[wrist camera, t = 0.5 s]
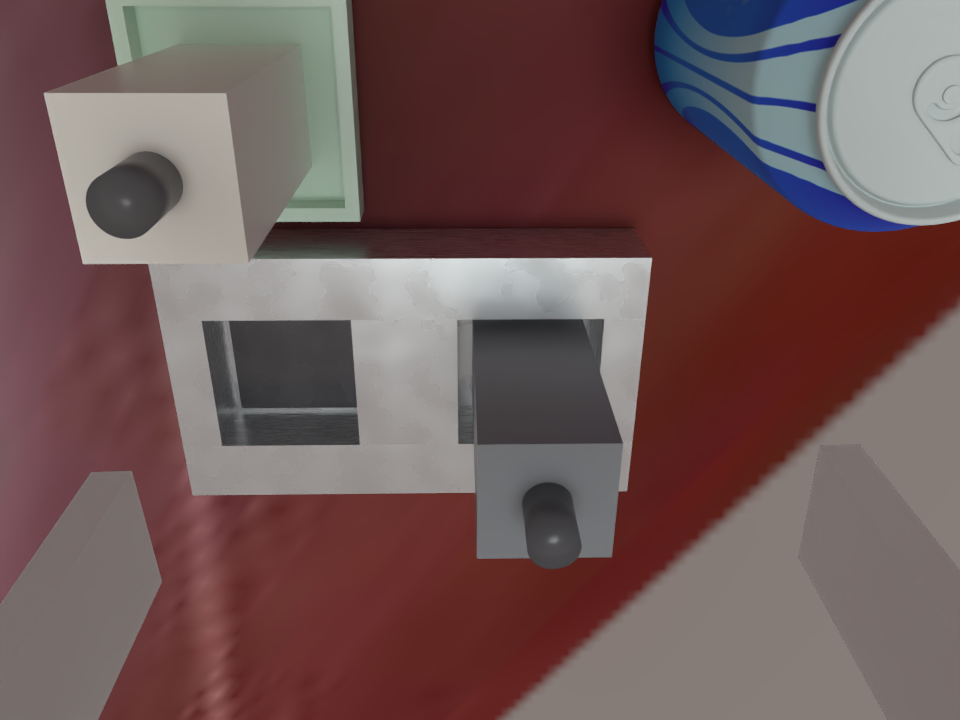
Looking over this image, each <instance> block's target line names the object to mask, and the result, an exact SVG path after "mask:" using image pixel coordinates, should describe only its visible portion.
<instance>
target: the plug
mask: <svg viewBox="0 0 960 720" xmlns="http://www.w3.org/2000/svg"><path fill="white" fill-rule="evenodd" d="M44 97H45V101H46V105H47V110H48V114H49V118H50V123H51V127H52V131H53V136H54V140H55V144H56V149H57V153H58V158H59V162H60V166H61V171H62V175H63V179H64V184H65V188H66V192H67V197H68V201H69V205H70V210H71V214H72V218H73V223H74V227H75V231H76V236H77V240H78V244H79V249H80V253H81V257H82V262H83V264H249V262H250V261H251V259H252V258H253V256H254V255H255V253H256V252H257V250H258V249H259V247H260V246H261V244H262V242H263V241H264V239H265V238H266V236H267V235H268V233H269V232H270V230H271V229H272V227H273V226H274V224H275V223H276V221H277V219H278V218H279V216H280V215H281V213H282V212H283V210H284V209H285V207H286V206H287V204H288V203H289V201H290V200H291V198H292V197H293V195H294V193H295V192H296V190H297V189H298V187H299V186H300V184H301V183H302V181H303V180H304V178H305V177H306V175H307V174H308V172H309V171H310V169H311V167H312V162H311V151H310V140H309V129H308V118H307V106H306V95H305V84H304V73H303V62H302V50H301V45H269V44H177V45H174V46H171V47H168V48H166V49H163V50H160V51H157V52H155V53H152V54H149V55H146V56H144V57H141V58H138V59H135V60H133V61H130V62H127V63H124V64H122V65H119V66H116V67H113V68H111V69H108V70H105V71H102V72H100V73H97V74H94V75H91V76H89V77H86V78H83V79H80V80H78V81H75V82H72V83H69V84H67V85H64V86H61V87H58V88H56V89H53V90H50V91H47V92H45V93H44Z"/></svg>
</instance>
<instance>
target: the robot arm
mask: <svg viewBox="0 0 960 720" xmlns="http://www.w3.org/2000/svg"><path fill="white" fill-rule="evenodd" d="M798 558H799V560H800V561H801V563H802V565H803V567H804V569H805V571H806V573H807V574H808V576H809V578H810V580H811V582H812V583H813V585H814V587H815V589H816V591H817V593H818V594H819V596H820V598H821V600H822V602H823V603H824V605H825V607H826V609H827V611H828V613H829V614H830V616H831V618H832V620H833V622H834V623H835V625H836V627H837V629H838V631H839V633H840V634H841V636H842V638H843V640H844V641H845V644H846V645H847V647H848V649H849V651H850V653H851V655H852V656H853V658H854V660H855V662H856V663H857V665H858V667H859V669H860V671H861V673H862V675H863V676H864V678H865V680H866V682H867V684H868V686H869V687H870V689H871V691H872V693H873V695H874V696H875V698H876V700H877V702H878V704H879V705H880V707H881V709H882V711H883V713H884V715H885V717H886V718H887V720H960V570H959V568H958V567H957V566H956V564H955V563H954V562H953V561H952V559H951V558H950V557H949V556H948V554H947V553H946V552H945V551H944V549H943V548H942V547H941V546H940V544H939V543H938V542H937V541H936V539H935V538H934V537H933V536H932V534H931V533H930V532H929V530H928V529H927V528H926V527H925V525H924V524H923V523H922V522H921V520H920V519H919V518H918V517H917V515H916V514H915V513H914V511H913V510H912V509H911V508H910V506H909V505H908V504H907V503H906V501H905V500H904V499H903V498H902V496H901V495H900V494H899V493H898V491H897V490H896V489H895V488H894V486H893V485H892V484H891V483H890V481H889V480H888V479H887V478H886V477H885V475H884V474H883V473H882V471H881V470H880V469H879V467H878V466H877V465H876V464H875V462H874V461H873V460H872V459H871V457H870V456H869V455H868V454H867V452H866V451H865V450H864V449H863V448H862V446H861V445H860V444H847V445H820V448H819V453H818V458H817V464H816V469H815V474H814V479H813V484H812V490H811V495H810V500H809V505H808V510H807V515H806V520H805V525H804V531H803V536H802V541H801V546H800V551H799V556H798ZM161 582H162V580H161V577H160V573H159V569H158V566H157V562H156V558H155V555H154V551H153V547H152V544H151V540H150V536H149V533H148V529H147V525H146V522H145V518H144V514H143V511H142V507H141V503H140V500H139V496H138V492H137V489H136V485H135V481H134V478H133V474H132V471H115V472H91V473H90V475H89V476H88V478H87V479H86V481H85V482H84V484H83V485H82V486H81V488H80V489H79V491H78V492H77V494H76V495H75V497H74V498H73V500H72V501H71V502H70V504H69V505H68V507H67V508H66V510H65V511H64V513H63V514H62V515H61V517H60V518H59V520H58V521H57V523H56V524H55V526H54V527H53V528H52V530H51V531H50V533H49V534H48V536H47V537H46V539H45V540H44V541H43V543H42V544H41V546H40V547H39V549H38V550H37V552H36V553H35V555H34V556H33V557H32V559H31V560H30V562H29V563H28V565H27V566H26V568H25V569H24V570H23V572H22V573H21V575H20V576H19V578H18V579H17V581H16V582H15V583H14V585H13V586H12V588H11V589H10V591H9V592H8V594H7V595H6V596H5V598H4V599H3V601H2V602H1V604H0V720H98V718H99V716H100V714H101V712H102V710H103V708H104V705H105V703H106V701H107V699H108V697H109V695H110V692H111V690H112V688H113V686H114V684H115V682H116V680H117V677H118V675H119V673H120V671H121V669H122V667H123V664H124V662H125V660H126V658H127V656H128V654H129V651H130V649H131V647H132V645H133V643H134V641H135V639H136V636H137V634H138V632H139V630H140V628H141V626H142V623H143V621H144V619H145V617H146V615H147V613H148V610H149V608H150V606H151V604H152V602H153V600H154V598H155V595H156V593H157V591H158V589H159V587H160V585H161Z"/></svg>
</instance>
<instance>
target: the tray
mask: <svg viewBox="0 0 960 720" xmlns="http://www.w3.org/2000/svg"><path fill="white" fill-rule="evenodd" d="M105 1H106V6H107V12H108V17H109V22H110V28H111V33H112V38H113V44H114V49H115V54H116V60H117V65H118V66H119V65H122V64H124V63H127V62H130V61H133V60H135V59H138V58H141V57H144V56H146V55H149V54H152V53H155V52H157V51H160V50H163V49H166V48H168V47H171V46H174V45H177V44H269V45H301V50H302V62H303V73H304V84H305V95H306V106H307V118H308V129H309V140H310V151H311V162H312V167H311V169H310V171H309V172H308V174H307V175H306V177H305V178H304V180H303V181H302V183H301V184H300V186H299V187H298V189H297V190H296V192H295V193H294V195H293V197H292V198H291V200H290V201H289V203H288V204H287V206H286V207H285V209H284V210H283V212H282V213H281V215H280V216H279V218H278V219H277V221H276V222H360V221H361V218H362V215H363V212H364V194H363V177H362V161H361V145H360V128H359V112H358V96H357V79H356V63H355V47H354V30H353V14H352V0H105Z"/></svg>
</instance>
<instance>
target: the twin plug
mask: <svg viewBox="0 0 960 720" xmlns="http://www.w3.org/2000/svg"><path fill="white" fill-rule="evenodd" d="M472 407H473V441H474V476H475V510H476V544H477V559H489V558H530V559H531V560H532V561H533V562H534V563H535V564H537V565H538V566H541V567H543V568H548V569H558V568H562V567H565V566H568V565H570V564H571V563H573V562H574V561H575V560H576V559H577V558H578V557H612V550H613V540H614V530H615V520H616V510H617V500H618V491H619V481H620V471H621V461H622V451H623V441H622V438H621V435H620V432H619V429H618V426H617V423H616V420H615V417H614V414H613V411H612V407H611V404H610V401H609V398H608V395H607V392H606V389H605V386H604V383H603V380H602V377H601V374H600V371H599V368H598V365H597V362H596V359H595V356H594V353H593V349H592V346H591V343H590V340H589V337H588V334H587V331H586V328H585V325H584V322H583V319H490V320H472Z"/></svg>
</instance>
